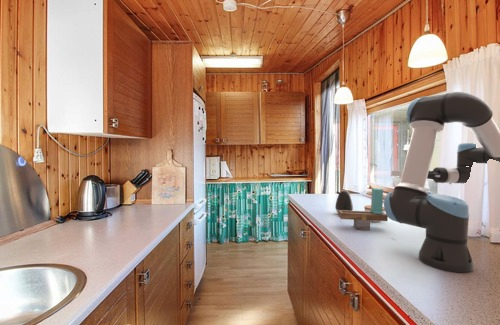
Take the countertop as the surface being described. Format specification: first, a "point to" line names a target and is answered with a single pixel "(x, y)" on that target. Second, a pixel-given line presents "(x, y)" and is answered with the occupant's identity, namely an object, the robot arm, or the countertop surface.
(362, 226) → the beam
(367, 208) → the lidded jar
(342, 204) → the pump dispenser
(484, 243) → the countertop surface
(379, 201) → the block
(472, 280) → the countertop surface
